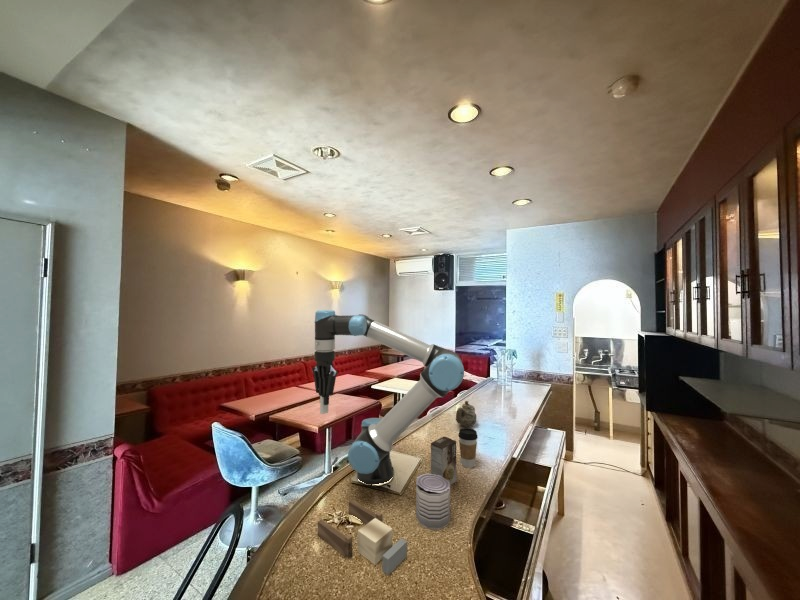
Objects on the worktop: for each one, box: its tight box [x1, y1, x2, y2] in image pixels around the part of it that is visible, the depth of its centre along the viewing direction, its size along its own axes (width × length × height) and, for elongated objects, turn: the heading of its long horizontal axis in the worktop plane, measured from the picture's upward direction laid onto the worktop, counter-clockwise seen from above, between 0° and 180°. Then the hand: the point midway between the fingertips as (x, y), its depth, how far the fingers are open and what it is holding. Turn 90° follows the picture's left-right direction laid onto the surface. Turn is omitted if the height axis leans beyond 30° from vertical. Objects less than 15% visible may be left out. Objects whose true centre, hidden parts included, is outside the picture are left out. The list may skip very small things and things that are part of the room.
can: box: [415, 473, 451, 530], centre depth 102 cm, size 11×11×12 cm
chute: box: [317, 499, 384, 560], centre depth 95 cm, size 14×14×5 cm
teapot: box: [455, 400, 477, 428], centre depth 181 cm, size 21×12×15 cm, turn 144°
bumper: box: [381, 537, 408, 576], centre depth 84 cm, size 8×2×4 cm, turn 141°
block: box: [357, 518, 393, 566], centre depth 88 cm, size 7×7×6 cm
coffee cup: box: [458, 427, 478, 469], centre depth 137 cm, size 8×8×15 cm
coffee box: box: [430, 436, 457, 486], centre depth 123 cm, size 9×6×16 cm
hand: (324, 412), depth 117 cm, fingers closed
